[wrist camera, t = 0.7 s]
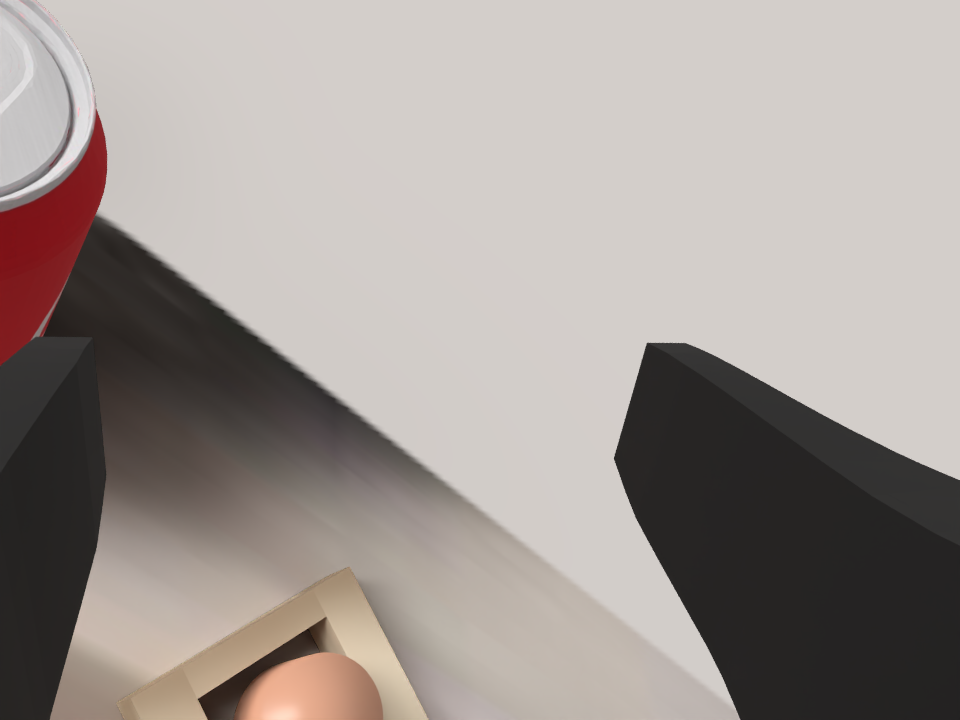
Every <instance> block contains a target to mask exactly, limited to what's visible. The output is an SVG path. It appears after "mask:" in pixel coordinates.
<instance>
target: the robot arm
mask: <svg viewBox="0 0 960 720" xmlns="http://www.w3.org/2000/svg"><path fill="white" fill-rule="evenodd" d="M614 460H615V463H616V466H617V469H618V472H619V474H620V477H621V480H622V483H623V486H624V489H625V492H626V494H627V496H628V499H629V502H630V504H631V507H632V509H633V512H634V514H635V517H636V519H637V521H638V523H639V525H640V526H641V528H642V530H643V532H644V534H645V536H646V538H647V540H648V541H649V543H650V545H651V547H652V548H653V551H654V552H655V554H656V556H657V558H658V560H659V562H660V563H661V565H662V567H663V569H664V571H665V572H666V574H667V576H668V578H669V579H670V581H671V583H672V585H673V587H674V588H675V590H676V592H677V594H678V596H679V597H680V599H681V601H682V603H683V604H684V606H685V608H686V610H687V612H688V613H689V615H690V617H691V619H692V621H693V622H694V624H695V626H696V628H697V629H698V631H699V633H700V635H701V637H702V638H703V640H704V642H705V643H706V645H707V647H708V649H709V651H710V653H711V655H712V657H713V659H714V661H715V663H716V665H717V667H718V669H719V671H720V673H721V675H722V677H723V679H724V682H725V684H726V687H727V689H728V691H729V694H730V696H731V698H732V700H733V703H734V705H735V708H736V710H737V712H738V715H739V717H740V719H741V720H960V480H958V479H955V478H953V477H951V476H948V475H946V474H943V473H941V472H939V471H936V470H934V469H932V468H929V467H927V466H925V465H922V464H920V463H918V462H915V461H914V460H911V459H909V458H907V457H905V456H903V455H900V454H898V453H896V452H894V451H892V450H890V449H888V448H886V447H884V446H882V445H880V444H878V443H876V442H874V441H872V440H870V439H868V438H866V437H864V436H862V435H860V434H858V433H856V432H854V431H852V430H850V429H848V428H846V427H844V426H842V425H841V424H839V423H837V422H835V421H833V420H831V419H829V418H827V417H826V416H823V415H822V414H820V413H818V412H816V411H815V410H813V409H811V408H809V407H807V406H805V405H804V404H802V403H800V402H798V401H796V400H795V399H793V398H791V397H789V396H787V395H786V394H784V393H782V392H780V391H778V390H777V389H775V388H773V387H771V386H769V385H768V384H766V383H764V382H762V381H760V380H758V379H757V378H755V377H753V376H751V375H750V374H748V373H746V372H744V371H742V370H740V369H739V368H737V367H735V366H733V365H731V364H729V363H727V362H725V361H723V360H722V359H720V358H718V357H716V356H714V355H712V354H709V353H708V352H705V351H703V350H701V349H699V348H696V347H693V346H691V345H689V344H686V343H647V345H646V348H645V352H644V355H643V359H642V362H641V366H640V369H639V373H638V376H637V380H636V383H635V387H634V390H633V394H632V397H631V401H630V404H629V408H628V411H627V415H626V418H625V422H624V425H623V429H622V432H621V435H620V439H619V443H618V446H617V450H616V453H615V457H614ZM105 480H106V468H105V457H104V447H103V437H102V426H101V416H100V405H99V395H98V385H97V374H96V364H95V353H94V343H93V337H35V338H33V339H32V340H31V341H30V342H28V343H27V344H26V345H25V346H23V347H22V348H21V349H20V350H18V351H17V352H16V353H15V354H14V355H13V356H11V357H10V358H9V359H8V360H7V361H5V362H4V363H3V364H2V365H1V366H0V720H50V715H51V712H52V708H53V705H54V701H55V697H56V694H57V690H58V687H59V683H60V679H61V676H62V672H63V668H64V665H65V661H66V658H67V654H68V650H69V647H70V643H71V640H72V636H73V632H74V629H75V625H76V622H77V618H78V614H79V611H80V607H81V604H82V600H83V596H84V592H85V589H86V585H87V581H88V578H89V574H90V570H91V567H92V563H93V559H94V555H95V551H96V548H97V541H98V534H99V527H100V520H101V513H102V505H103V496H104V488H105Z"/></svg>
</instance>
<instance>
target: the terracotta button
mask: <svg viewBox="0 0 960 720" xmlns="http://www.w3.org/2000/svg"><path fill="white" fill-rule="evenodd" d="M233 720H383V708H382V703H381V698H380V695H379V692H378V690H377V687H376V685H375V683H374V681H373V680H372V678H371V677H370V675H369V674H368V673H367V671H366V670H365V669H364V668H363V667H362V666H361V665H359V664H358V663H357V662H355V661H354V660H352V659H350V658H349V657H346V656H344V655H341V654H336V653H328V652H324V653H316V654H312V655H308V656H305V657H301V658H297V659H294V660H290V661H287V662H283V663H279V664H277V665H274V666H272V667H270V668H268V669H266V670H264V671H263V672H262V673H260V674H259V675H258V676H257V677H256V678H255V679H254V680H253V681H252V682H251V683H250V684H249V685H248V687H247V688H246V689H245V691H244V693H243V694H242V696H241V698H240V700H239V702H238V705H237V708H236V711H235V715H234V719H233Z"/></svg>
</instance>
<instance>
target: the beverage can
mask: <svg viewBox="0 0 960 720" xmlns="http://www.w3.org/2000/svg"><path fill="white" fill-rule="evenodd" d="M106 175H107V150H106V141H105V136H104V132H103V128H102V124H101V120H100V118H99V115H98V112H97V109H96V100H95V92H94V87H93V83H92V80H91V77H90V73H89V70H88V67H87V65H86V63H85V61H84V59H83V57H82V55H81V53H80V52H79V50H78V48H77V47H76V45H75V43H74V41H73V40H72V38H71V37H70V36H69V35H68V33H67V32H66V31H65V29H64V28H63V27H62V26H61V24H60V23H59V22H58V21H57V20H56V19H55V18H54V17H53V16H52V15H51V14H50V13H49V12H48V11H47V10H46V9H45V8H44V7H43V6H42V5H41V4H40V3H39V2H37V1H36V0H0V366H1V365H2V364H3V363H4V362H5V361H7V360H8V359H9V358H10V357H11V356H13V355H14V354H15V353H16V352H17V351H18V350H20V349H21V348H22V347H23V346H25V345H26V344H27V343H28V342H30V341H31V340H32V339H33V338H35V337H43V335H44V333H45V330H46V328H47V326H48V323H49V321H50V319H51V316H52V314H53V312H54V310H55V307H56V305H57V303H58V300H59V298H60V296H61V293H62V291H63V289H64V286H65V284H66V282H67V279H68V277H69V275H70V272H71V270H72V268H73V265H74V263H75V261H76V258H77V256H78V254H79V251H80V249H81V247H82V245H83V242H84V240H85V238H86V235H87V233H88V231H89V228H90V226H91V224H92V221H93V219H94V217H95V214H96V212H97V210H98V207H99V205H100V202H101V199H102V196H103V193H104V188H105V184H106Z"/></svg>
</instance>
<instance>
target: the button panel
mask: <svg viewBox="0 0 960 720" xmlns="http://www.w3.org/2000/svg"><path fill="white" fill-rule="evenodd" d="M306 629H309V631H310V633H311V635H312V637H313V639H314V641H315V643H316V645H317V647H318V649H319V651H320V653H324V652H328V653H336V654H341V655H344V656H346V657H349V658H350V659H352V660H354V661H355V662H357V663H358V664H359V665H361V666H362V667H363V668H364V669H365V670H366V671H367V673H368V674H369V675H370V677H371V678H372V680H373V681H374V683H375V685H376V687H377V690H378V692H379V695H380V698H381V703H382V708H383V720H429V719H428V717H427V715H426V713H425V712H424V710H423V708H422V706H421V704H420V702H419V700H418V698H417V696H416V694H415V692H414V690H413V688H412V686H411V684H410V683H409V681H408V679H407V677H406V675H405V673H404V671H403V669H402V667H401V665H400V663H399V661H398V659H397V657H396V655H395V653H394V652H393V650H392V648H391V646H390V644H389V642H388V640H387V638H386V636H385V634H384V632H383V630H382V628H381V626H380V624H379V623H378V621H377V619H376V617H375V615H374V613H373V611H372V609H371V607H370V605H369V603H368V601H367V599H366V597H365V595H364V593H363V592H362V590H361V588H360V586H359V584H358V582H357V580H356V578H355V576H354V574H353V572H352V570H351V568H350V567H347V568H345V569H343V570H340V571H338V572H336V573H333V574H331V575H329V576H327V577H325V578H324V579H322V580H320V581H319V582H317V583H315V584H314V585H312V586H310V587H309V588H307V589H305V590H304V591H302V592H300V593H299V594H297V595H295V596H294V597H292V598H290V599H289V600H287V601H285V602H284V603H282V604H280V605H279V606H277V607H275V608H274V609H272V610H270V611H269V612H267V613H265V614H264V615H262V616H260V617H259V618H257V619H255V620H254V621H252V622H250V623H249V624H247V625H245V626H244V627H242V628H240V629H239V630H237V631H235V632H234V633H232V634H230V635H229V636H227V637H225V638H224V639H222V640H220V641H219V642H217V643H215V644H214V645H212V646H210V647H209V648H207V649H205V650H204V651H202V652H200V653H199V654H197V655H195V656H194V657H192V658H190V659H189V660H187V661H185V662H184V663H182V664H180V665H179V666H177V667H175V668H174V669H172V670H170V671H168V672H167V673H165V674H163V675H162V676H160V677H158V678H157V679H155V680H153V681H152V682H150V683H148V684H147V685H145V686H143V687H142V688H140V689H138V690H137V691H135V692H133V693H132V694H130V695H128V696H127V697H125V698H123V699H122V700H120V701H118V702H117V703H116V704H117V706H118V708H119V710H120V712H121V714H122V716H123V718H124V720H208V719H207V717H206V715H205V713H204V711H203V709H202V707H201V705H200V703H199V701H198V698H200V697H201V696H203V695H204V694H206V693H208V692H209V691H211V690H212V689H214V688H215V687H217V686H219V685H220V684H222V683H223V682H225V681H226V680H228V679H229V678H231V677H233V676H234V675H236V674H237V673H239V672H240V671H242V670H244V669H245V668H247V667H248V666H250V665H251V664H253V663H254V662H256V661H258V660H259V659H261V658H262V657H264V656H265V655H267V654H269V653H270V652H272V651H273V650H275V649H276V648H278V647H280V646H281V645H283V644H284V643H286V642H287V641H289V640H290V639H292V638H294V637H295V636H297V635H298V634H300V633H301V632H303V631H305V630H306Z"/></svg>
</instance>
